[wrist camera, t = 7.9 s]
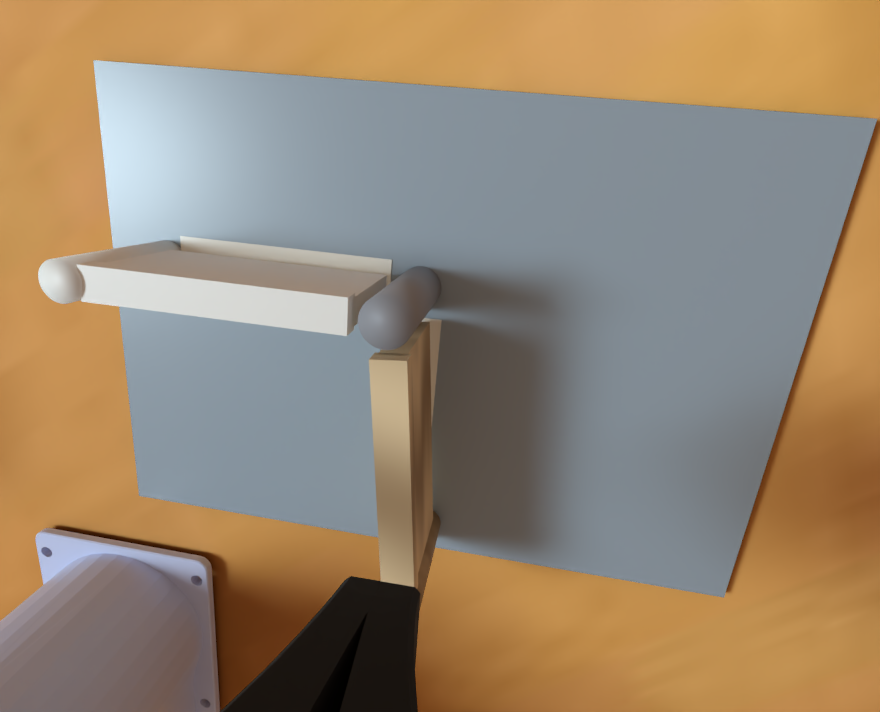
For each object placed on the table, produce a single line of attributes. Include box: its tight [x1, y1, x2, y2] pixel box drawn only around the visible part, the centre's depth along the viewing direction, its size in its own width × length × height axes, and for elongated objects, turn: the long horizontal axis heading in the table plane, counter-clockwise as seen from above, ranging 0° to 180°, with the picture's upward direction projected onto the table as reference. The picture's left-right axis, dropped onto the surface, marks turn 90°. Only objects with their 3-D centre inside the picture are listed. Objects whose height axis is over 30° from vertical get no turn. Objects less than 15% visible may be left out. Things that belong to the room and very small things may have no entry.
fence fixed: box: [38, 240, 441, 350], centre depth 16 cm, size 1×10×5 cm, turn 85°
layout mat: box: [93, 60, 877, 597], centre depth 18 cm, size 16×23×1 cm
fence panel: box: [369, 322, 441, 610], centre depth 17 cm, size 8×1×5 cm, turn 1°
